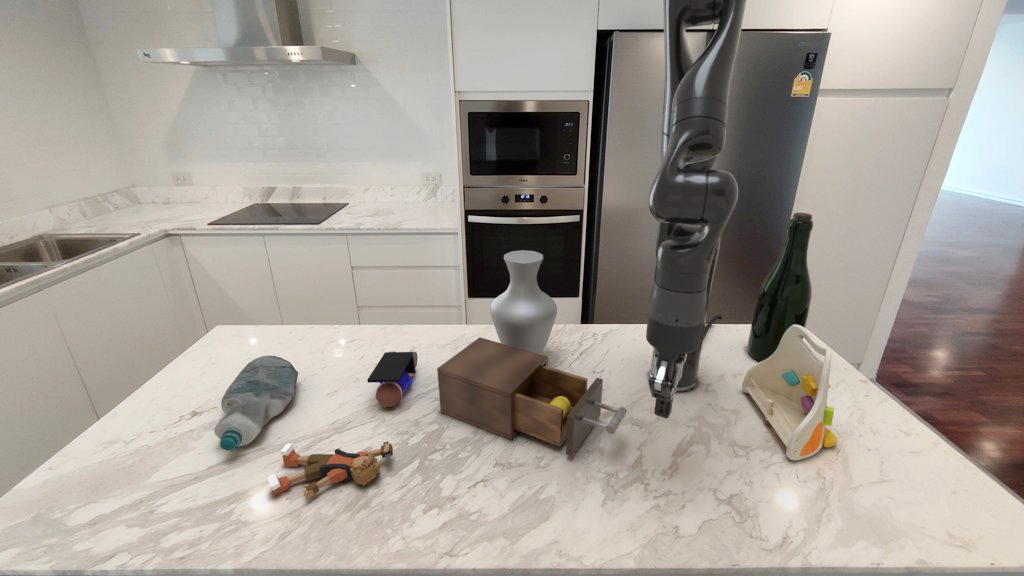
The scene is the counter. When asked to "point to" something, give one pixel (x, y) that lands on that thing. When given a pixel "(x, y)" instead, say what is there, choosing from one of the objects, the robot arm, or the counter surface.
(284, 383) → the plastic water bottle
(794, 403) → the shape sorter
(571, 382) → the drawer
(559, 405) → the yellow capsule
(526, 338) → the vase
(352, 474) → the character figurine
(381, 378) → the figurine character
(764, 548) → the counter surface
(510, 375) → the cabinet
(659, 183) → the robot arm
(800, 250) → the green wine bottle
